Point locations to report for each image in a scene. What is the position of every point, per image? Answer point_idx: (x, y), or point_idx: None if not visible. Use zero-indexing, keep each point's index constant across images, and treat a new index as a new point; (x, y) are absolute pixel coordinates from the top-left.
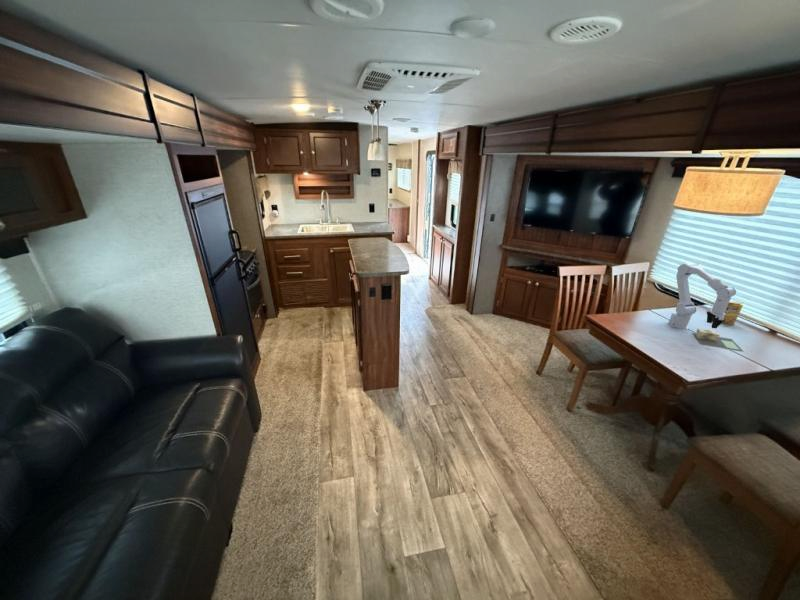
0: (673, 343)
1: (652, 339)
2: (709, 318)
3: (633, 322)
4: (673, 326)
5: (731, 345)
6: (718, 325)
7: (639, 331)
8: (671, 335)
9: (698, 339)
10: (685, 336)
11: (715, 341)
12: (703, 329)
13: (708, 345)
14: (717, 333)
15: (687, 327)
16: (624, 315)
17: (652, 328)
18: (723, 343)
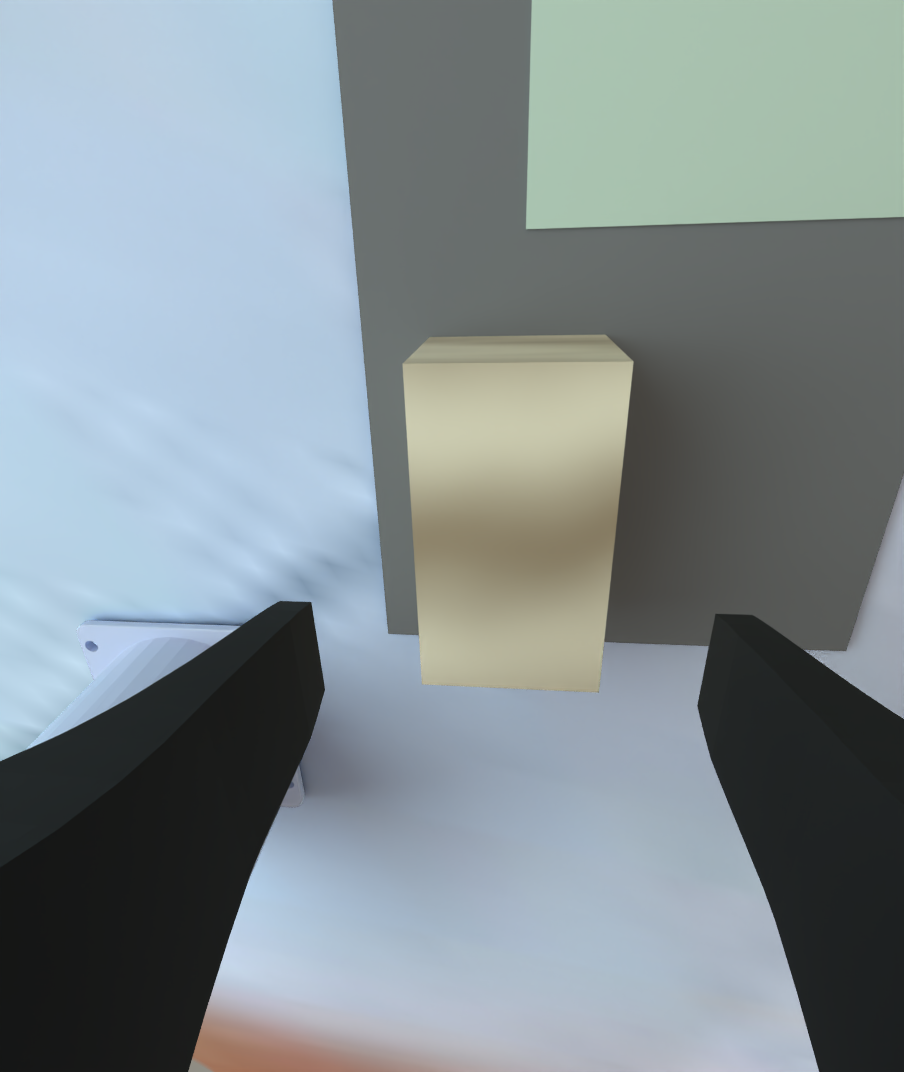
0: None
1: (799, 1030)
2: (253, 809)
3: (390, 1050)
4: (293, 789)
5: (770, 62)
6: (855, 705)
7: (617, 1064)
8: (606, 861)
9: (649, 618)
10: (569, 730)
11: (639, 363)
12: (433, 606)
13: (868, 544)
14: (553, 379)
15: (210, 635)
16: (241, 1065)
17: (470, 963)
18: (692, 224)
